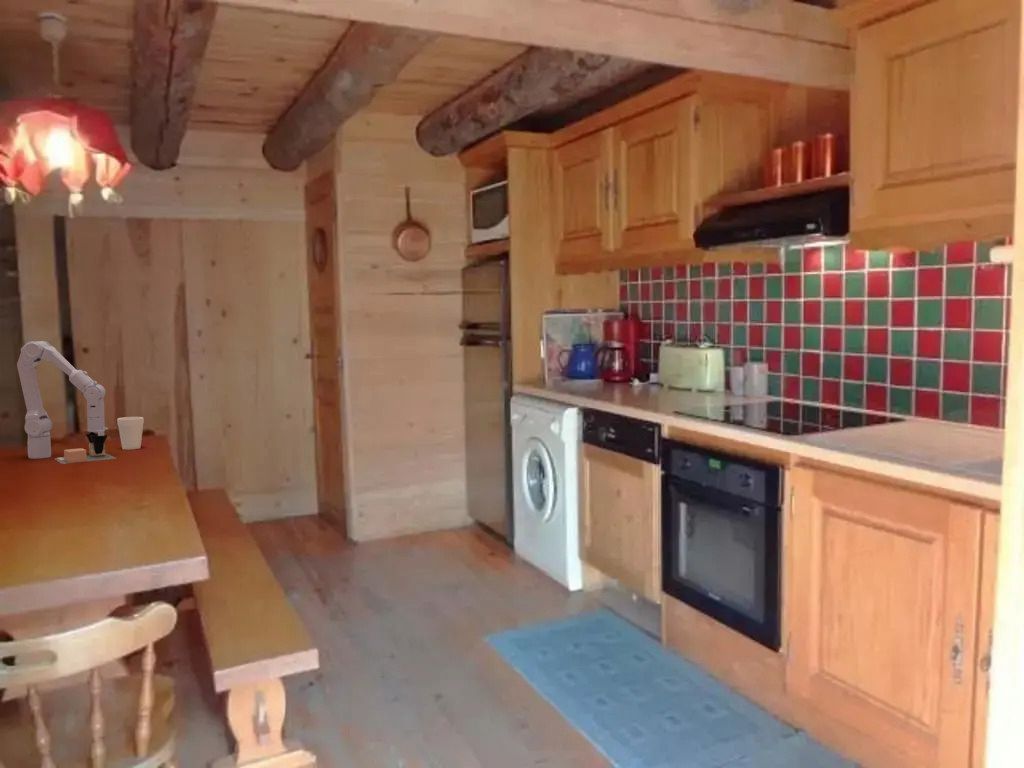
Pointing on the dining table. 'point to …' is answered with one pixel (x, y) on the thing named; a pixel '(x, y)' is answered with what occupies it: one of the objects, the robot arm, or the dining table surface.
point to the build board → (91, 458)
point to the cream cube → (92, 451)
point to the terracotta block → (75, 455)
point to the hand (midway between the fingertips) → (97, 452)
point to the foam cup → (130, 431)
